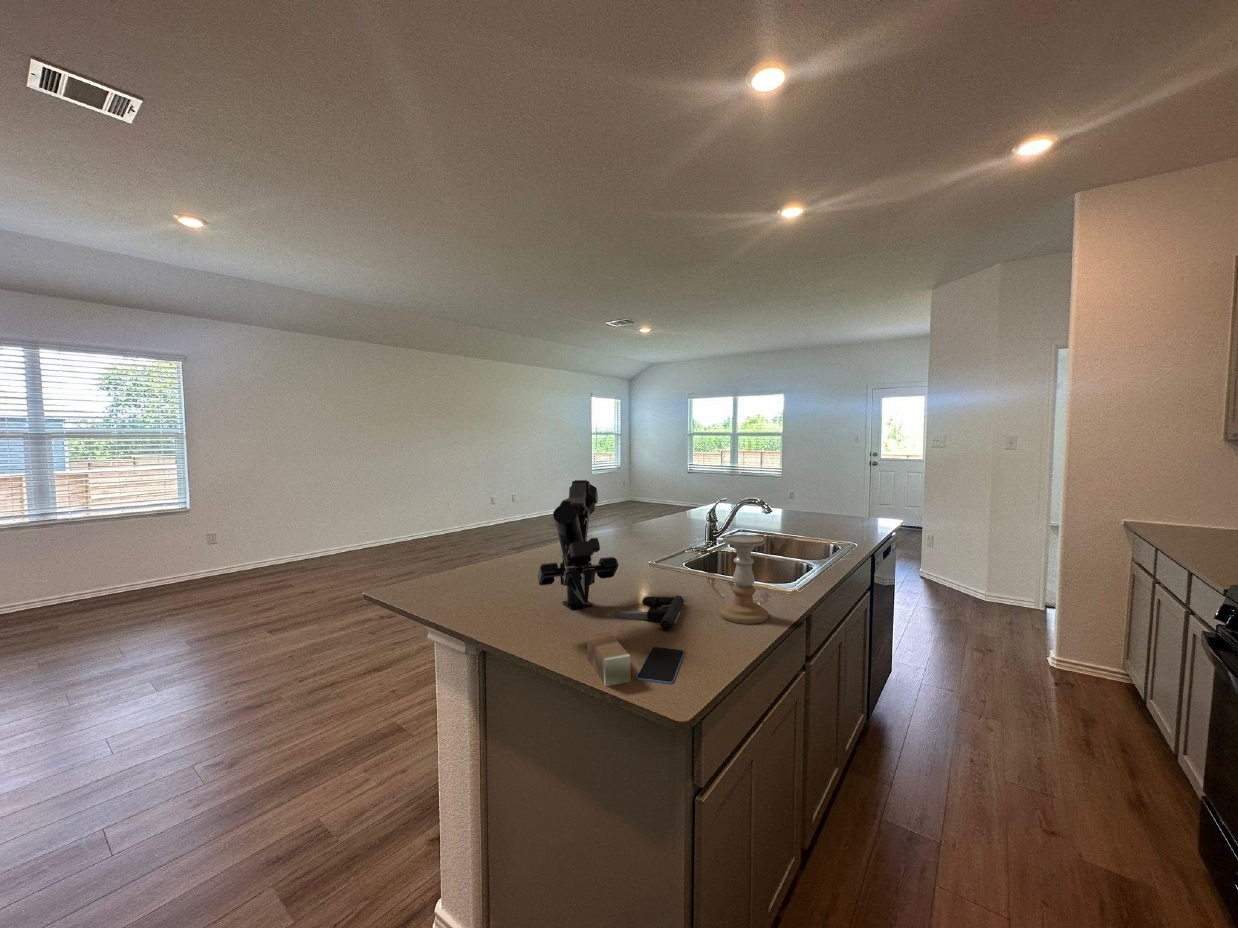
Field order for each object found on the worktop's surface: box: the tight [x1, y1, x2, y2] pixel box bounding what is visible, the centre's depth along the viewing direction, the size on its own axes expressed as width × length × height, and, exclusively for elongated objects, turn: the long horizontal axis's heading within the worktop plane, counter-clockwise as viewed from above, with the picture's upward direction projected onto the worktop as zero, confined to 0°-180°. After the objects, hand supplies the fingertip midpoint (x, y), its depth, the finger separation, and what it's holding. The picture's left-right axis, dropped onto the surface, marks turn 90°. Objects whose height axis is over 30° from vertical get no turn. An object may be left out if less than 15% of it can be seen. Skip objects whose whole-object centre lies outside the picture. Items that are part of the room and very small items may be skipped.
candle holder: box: [718, 534, 769, 625], centre depth 129 cm, size 12×12×20 cm
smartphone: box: [636, 646, 685, 685], centre depth 102 cm, size 7×1×15 cm
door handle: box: [617, 595, 688, 632], centre depth 131 cm, size 3×20×16 cm
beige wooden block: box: [586, 632, 632, 687], centre depth 100 cm, size 5×5×12 cm
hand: (585, 603), depth 115 cm, fingers closed
